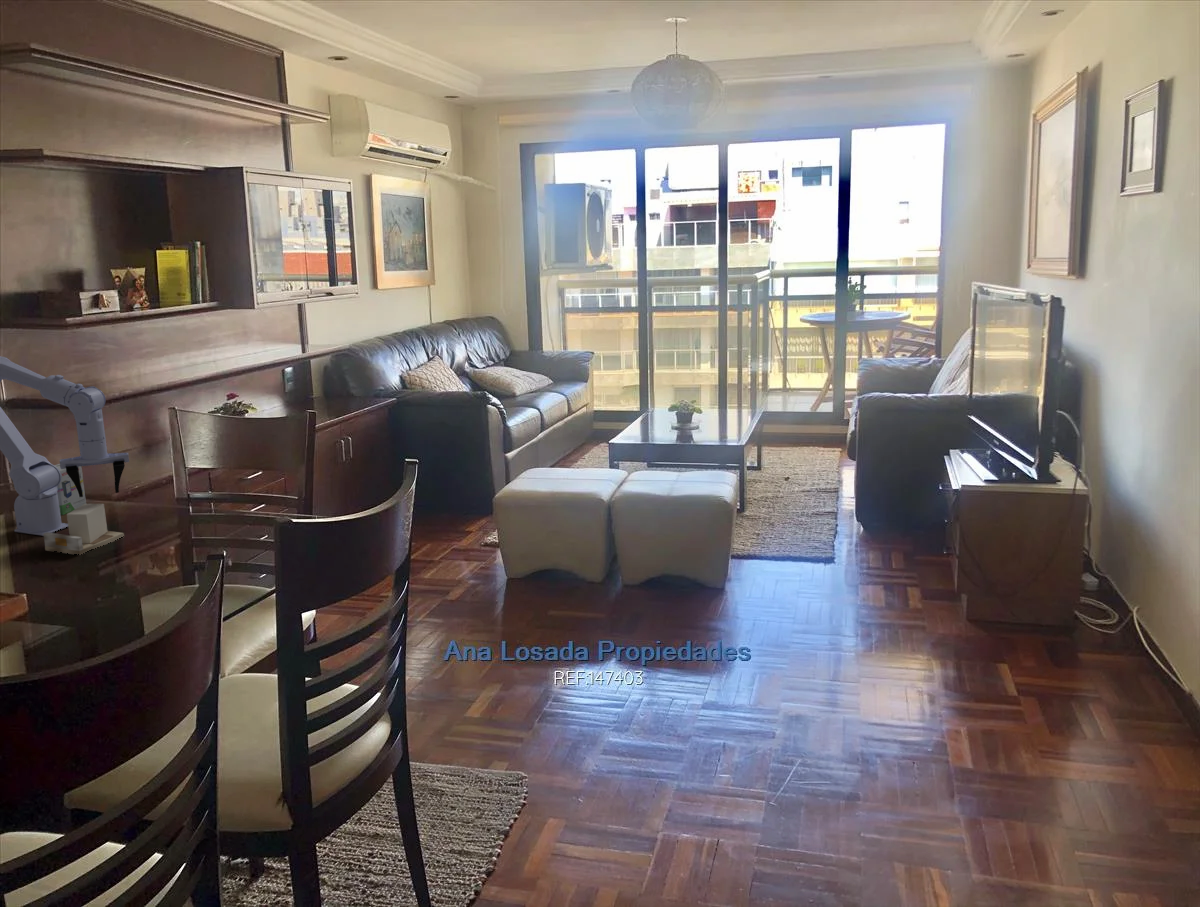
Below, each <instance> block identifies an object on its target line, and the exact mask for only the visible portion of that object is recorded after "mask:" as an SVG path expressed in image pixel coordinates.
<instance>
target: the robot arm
mask: <svg viewBox="0 0 1200 907" xmlns="http://www.w3.org/2000/svg"><path fill="white" fill-rule="evenodd" d="M2 380H7V381H9V382H12V383H13V382H14V383H17V384H19V385H22V386H25V387H28V388H31V389H34V390H37V391H38V392H39V393H40V395H41V397H42V398H44V399H47V400H48V401H52V402H53V403H56V404H60V405H62V406H64V407H68V409H69V411H70V412H71V413H72V414H73V418H74V420H75V424H76V432H77V441H78V447H79V453H80V456H74V457H68V458H62V459H59V464H60V468H61V469H66V472H67V474H68V475H69V477H70V478H71V480H72V481H73V483H74V484H75V486H76V488H77V490H78V493H79V497H83V492H82V487H81V483H80V477H79V469H78V467H80V466H81V467H88V466H96V465H108V464H112V466H113V467H112V469H113V475H114V490H115V492H114V493H116V494H118V493H119V492H120V481H121V479H122V478H121V477H122V474H123V472H124V468H125V463H130V457H129V456H130V455H129V452H117V453H115V452H114V453H109V452H108V447H107V438H106V431H105V423H104V415H103V408H104V407H105V405H106V400H107V399H106V395H105V393H104V392H103V391H102V390H101V389H99V388H97V387H96V386H93V385H91V386H87V387H84V385H83V384H82V383H76V382H72V381H69V380H67V379H65V376H64V375H61V374H56V375H55V374H54V375H53V374H51V375H49V376H47V377H46V376H44V375H41V374H39V373H37V372H35V371H33V370H31V369H29V368H26V367H24V366H23V365H19V364H17V363H16V362H14V361H12V360H10V359H9V358H8V357H6V356H1V355H0V383H1V382H2ZM0 452H2V454H3V456H4V457H5V458H6V460H7V461H8V462H9V464H10V465H11V466H10V469H9V474H8V476H9V477H10V478H11V481H12V482H13V487H14V489H15V492H16V493H17V494H18V496H17V497H16V498H15V501H14V503H13V504H14V505H13V508H14V516H15V521H16V528H15V529H14V533H20V534H27V535H36V536H42V537H44V535H43V534H44V533H46V532H48V533H55V531H56V532H58V530H59V531H61V530H63V529H66V527H67V528H68V523H65V522H62V515H60V508H59V501H58V494H57V490H58V487H57V486H58V485H59V484H60V482H61V479H62V476H61V472H60V470H59V469H58V468H57V467H56V466H55V465H56V464H53V463H51V462H50V461H49V460H48V458H47V457H45V456H44V455H41V454H38V453H36V452H34V450H33V449H32V448H31V446H30V445H29V443H28V442H27V440H25V438H24V437H23V435H22V434H21V433H20V431H19V430H18V428H16V426H15V424H14V423H13V421H11V419H10V418H9V417H8V415H7V414H6V412H5V411H4V410H3V408H2V407H1V406H0ZM60 529H61V530H60Z"/></svg>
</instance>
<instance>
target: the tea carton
mask: <svg viewBox="0 0 1200 907" xmlns="http://www.w3.org/2000/svg"><path fill="white" fill-rule="evenodd" d="M66 520H67V524H68V527H67V528H68V533H69V535H70V536H77V537H82V543H91V542H93V541H94V540H96V539H97V538H99V537H100V536H102V535H103V534H105V533H106V532H107V531H108V525H107V518H106V510H105V504H104V503H86V504H84V505H82V506H80V507H78V508H77V509H75V510H73V511H71V512H69V513H67V514H66Z"/></svg>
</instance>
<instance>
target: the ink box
mask: <svg viewBox="0 0 1200 907" xmlns="http://www.w3.org/2000/svg"><path fill="white" fill-rule="evenodd" d="M54 465H55V466H56V467H57V468H58V469H59V470H60V472H61V476H62V479H61V482H60V484H59V485H58V486H57V487H58V490H57V494H58V501H59V508H60V515H61V516H65V515H67V514H68V513H70V512H72V511H73V510H75V509H77V508H78V507H80V506H82V505H84V504H87V500H86V492H85V485H84V484H85V482H84V477H83V475H84V474H83V469H82V467H83V466H80V467H78V469H79V477H80V483H81V487H82V492H83V497H79V493H78V490H77V488H76V486H75V484H74V483H73V481H72V480H71V478H70V477H69V475H68V474H67V472H66V469H61V468H60V463H57V464H54Z"/></svg>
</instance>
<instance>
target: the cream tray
mask: <svg viewBox="0 0 1200 907" xmlns="http://www.w3.org/2000/svg"><path fill="white" fill-rule="evenodd" d="M43 535H44V536H43V540H44V550H45V551H47V552H54V551H57V552H56V553H60V552H62V553H61V554H67V553H68V554H69V555H74V554H77V555H76V556H81V554H82V555H84V554H86V553H85V552H87V551H89V550H91V549H94V550H96V549H98V548H97V547H99V548H101V547H103V545H104V546H106V545H109V544H110V542H111V543H113V542H116V541H118V540H120V539H119V538H121V537H123V536H124V537H125V532H120V531H111V530H107V532H106V533H105V534H103V535H102V536H100V537H99V538H97V539H96V540H94V541H93V542H91V543H82V537H77V536H70V535H68V534H61V533H55V532H53V533H48V532H46V533H44V534H43ZM124 537H123V538H124ZM117 539H118V540H117ZM121 539H122V538H121ZM115 540H116V541H115ZM108 543H109V544H108ZM100 546H101V547H100ZM95 548H96V549H95ZM89 552H90V551H89ZM83 553H84V554H83ZM87 553H88V552H87ZM68 554H67V555H68ZM78 554H79V555H78Z"/></svg>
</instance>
